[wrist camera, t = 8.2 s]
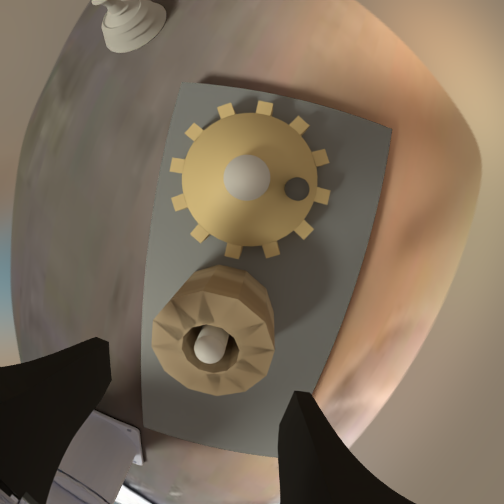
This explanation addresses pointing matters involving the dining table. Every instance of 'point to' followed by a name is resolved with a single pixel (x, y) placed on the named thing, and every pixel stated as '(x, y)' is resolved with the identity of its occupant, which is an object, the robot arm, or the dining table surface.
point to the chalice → (130, 23)
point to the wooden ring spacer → (223, 316)
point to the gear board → (283, 275)
